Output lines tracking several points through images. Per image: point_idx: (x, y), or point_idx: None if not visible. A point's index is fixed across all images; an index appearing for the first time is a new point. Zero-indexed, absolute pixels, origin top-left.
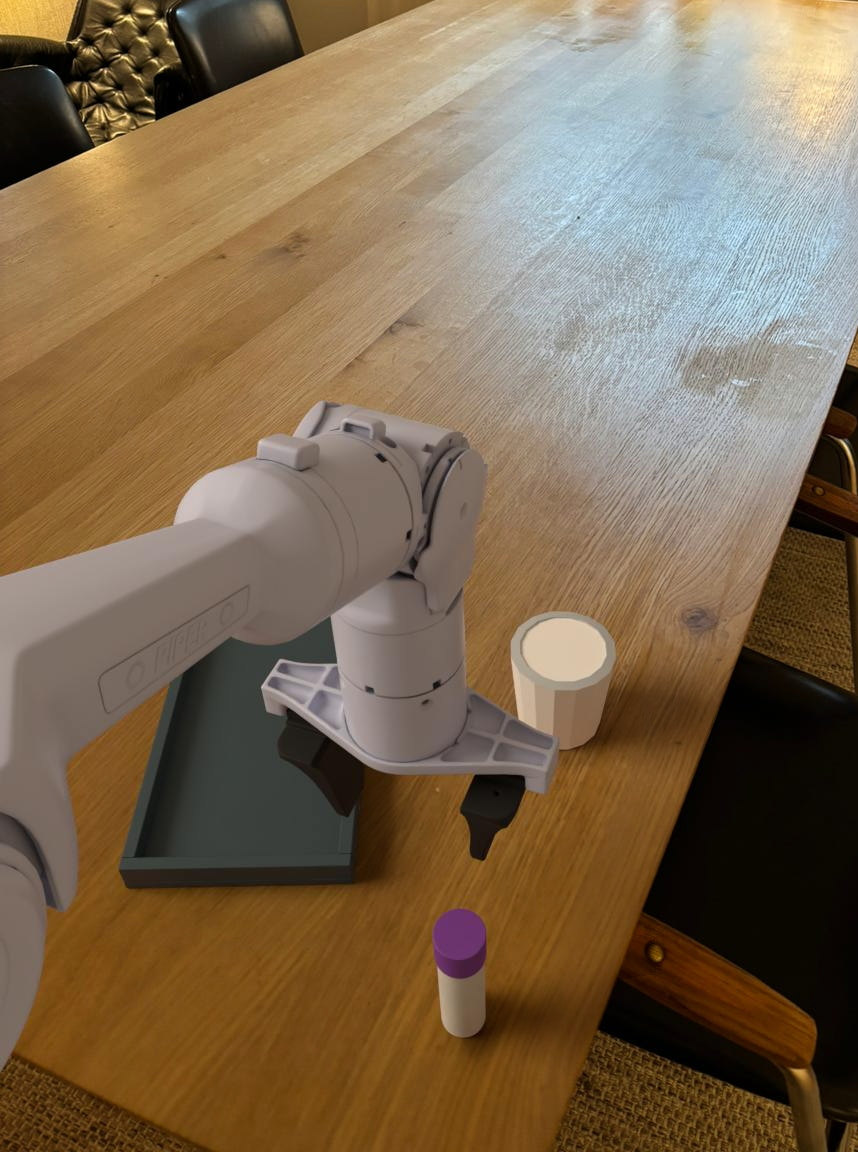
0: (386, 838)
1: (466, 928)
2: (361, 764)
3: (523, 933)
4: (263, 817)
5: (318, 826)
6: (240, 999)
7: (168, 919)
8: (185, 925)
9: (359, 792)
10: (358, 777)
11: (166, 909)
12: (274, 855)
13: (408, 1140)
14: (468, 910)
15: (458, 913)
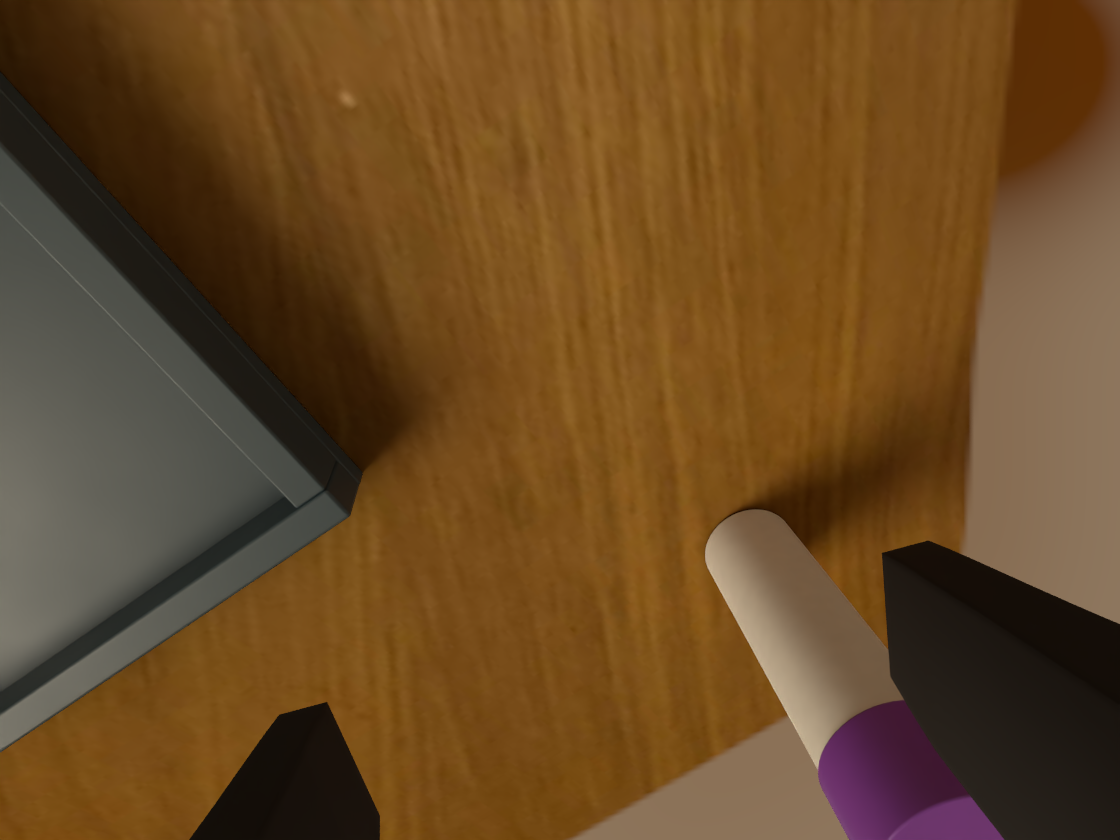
0: (339, 327)
1: (968, 837)
2: (281, 825)
3: (785, 341)
4: (17, 489)
5: (165, 427)
6: (358, 752)
7: (94, 743)
8: (136, 731)
9: (337, 749)
10: (312, 822)
11: (68, 734)
12: (162, 605)
13: (760, 730)
14: (952, 801)
15: (926, 821)
